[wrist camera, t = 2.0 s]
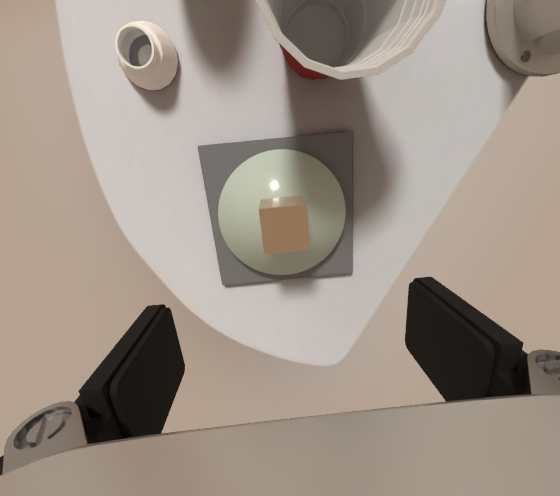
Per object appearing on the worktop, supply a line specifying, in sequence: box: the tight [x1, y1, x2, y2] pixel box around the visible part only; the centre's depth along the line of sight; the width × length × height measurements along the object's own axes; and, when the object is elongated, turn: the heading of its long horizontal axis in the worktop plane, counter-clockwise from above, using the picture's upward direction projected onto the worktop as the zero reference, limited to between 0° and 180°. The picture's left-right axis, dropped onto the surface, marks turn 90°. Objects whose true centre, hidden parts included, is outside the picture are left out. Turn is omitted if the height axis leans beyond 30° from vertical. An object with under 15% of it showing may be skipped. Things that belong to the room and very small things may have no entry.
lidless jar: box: [115, 21, 178, 90], centre depth 23 cm, size 5×3×5 cm
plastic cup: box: [256, 0, 446, 80], centre depth 18 cm, size 11×11×12 cm
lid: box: [218, 149, 346, 275], centre depth 25 cm, size 13×13×6 cm
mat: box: [198, 131, 353, 285], centre depth 29 cm, size 15×15×1 cm
